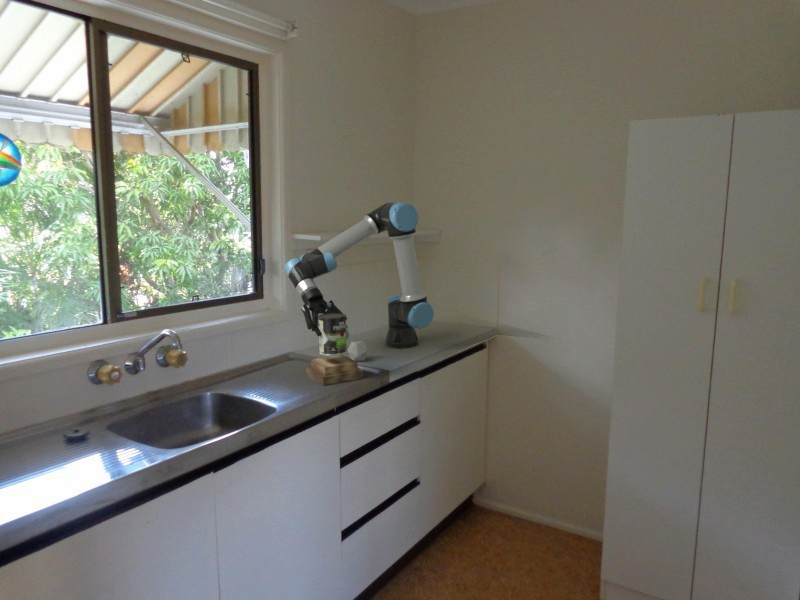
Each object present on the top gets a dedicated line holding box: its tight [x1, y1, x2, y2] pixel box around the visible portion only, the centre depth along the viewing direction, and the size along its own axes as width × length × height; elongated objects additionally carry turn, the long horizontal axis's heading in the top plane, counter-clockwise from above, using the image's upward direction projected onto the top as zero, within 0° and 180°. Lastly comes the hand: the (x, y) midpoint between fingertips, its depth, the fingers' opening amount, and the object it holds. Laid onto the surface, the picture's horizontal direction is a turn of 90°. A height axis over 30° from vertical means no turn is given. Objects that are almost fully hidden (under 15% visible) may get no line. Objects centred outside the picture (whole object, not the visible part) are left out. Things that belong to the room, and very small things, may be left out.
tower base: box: [305, 354, 364, 386], centre depth 218 cm, size 16×16×6 cm
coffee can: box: [318, 313, 348, 357], centre depth 216 cm, size 10×10×14 cm
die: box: [347, 340, 369, 362], centre depth 241 cm, size 8×9×10 cm
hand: (337, 339), depth 214 cm, fingers closed on coffee can, 10 cm apart
